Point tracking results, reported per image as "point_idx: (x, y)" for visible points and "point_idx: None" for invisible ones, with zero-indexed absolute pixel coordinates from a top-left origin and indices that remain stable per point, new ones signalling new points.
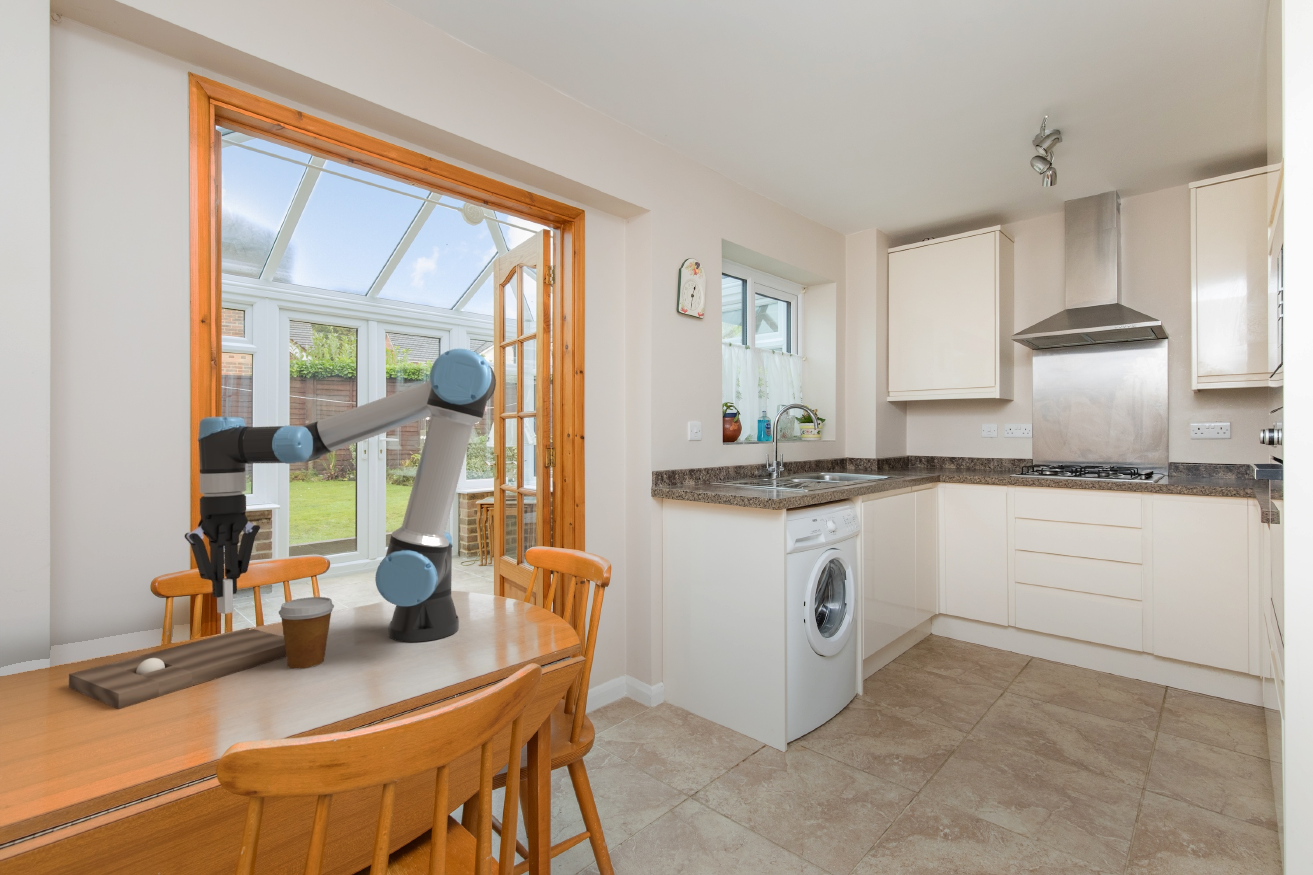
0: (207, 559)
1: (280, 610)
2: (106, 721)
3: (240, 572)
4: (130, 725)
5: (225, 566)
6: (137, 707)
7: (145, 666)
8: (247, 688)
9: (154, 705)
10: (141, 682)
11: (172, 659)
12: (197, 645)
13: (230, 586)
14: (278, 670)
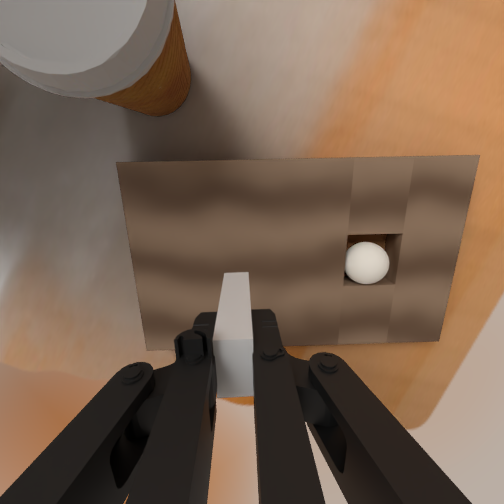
0: (419, 497)
1: (158, 21)
2: (496, 113)
3: (155, 376)
4: (498, 48)
5: (210, 457)
6: (440, 135)
7: (386, 255)
8: (303, 33)
9: (425, 116)
10: (427, 185)
11: (326, 274)
12: None
13: (225, 319)
14: (212, 86)
